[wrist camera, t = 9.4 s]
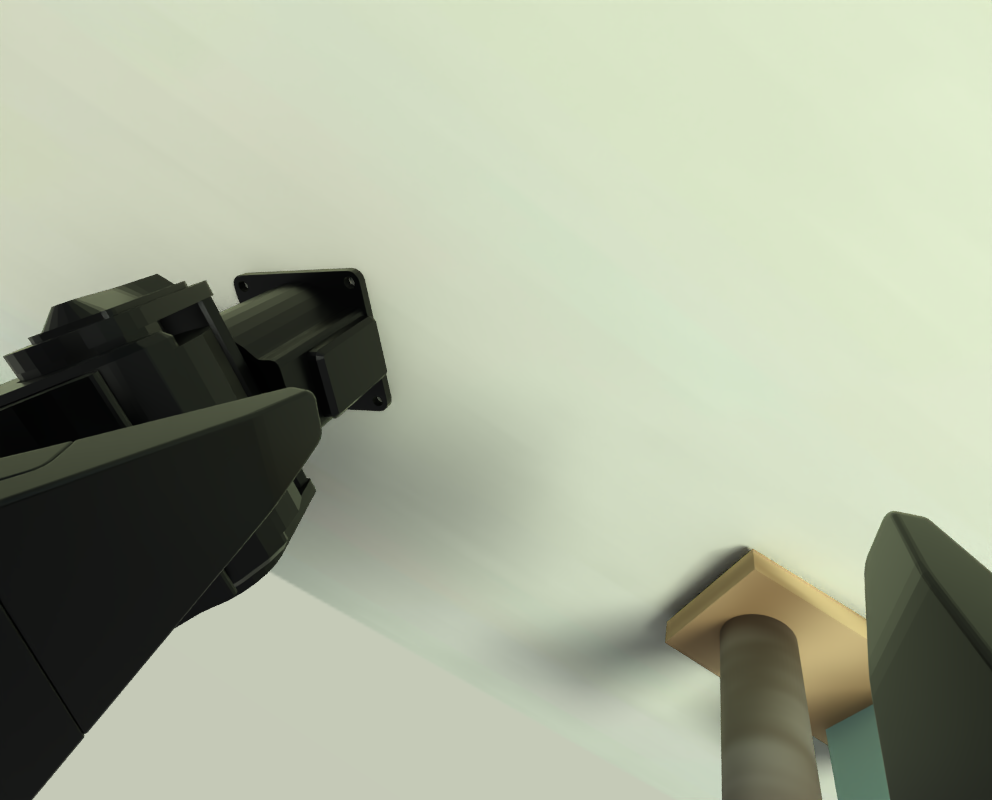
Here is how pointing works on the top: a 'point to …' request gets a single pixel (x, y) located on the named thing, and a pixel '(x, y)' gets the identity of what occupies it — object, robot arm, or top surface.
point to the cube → (857, 758)
